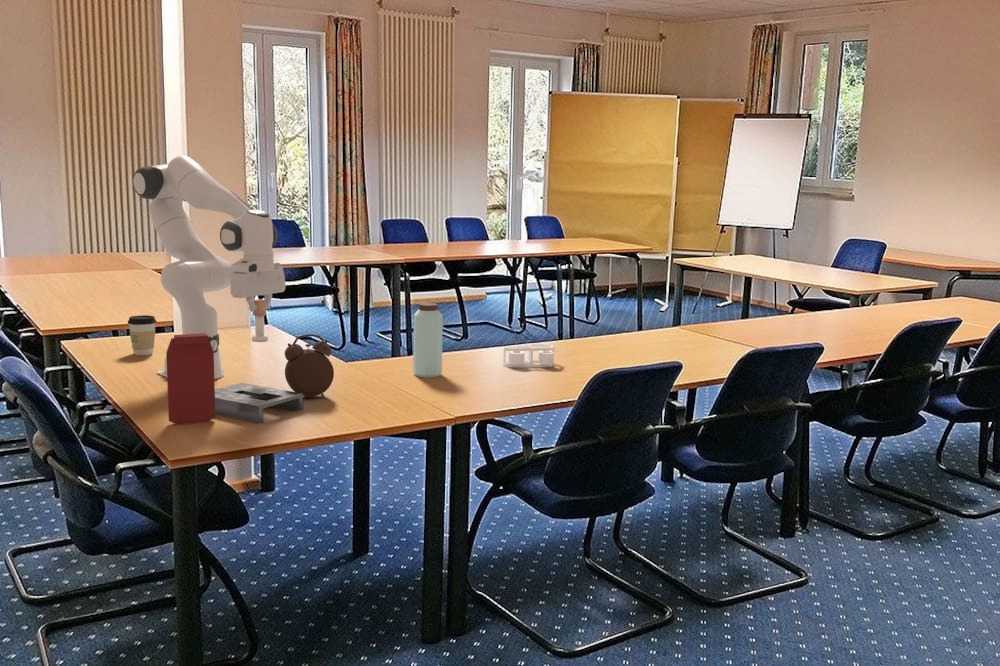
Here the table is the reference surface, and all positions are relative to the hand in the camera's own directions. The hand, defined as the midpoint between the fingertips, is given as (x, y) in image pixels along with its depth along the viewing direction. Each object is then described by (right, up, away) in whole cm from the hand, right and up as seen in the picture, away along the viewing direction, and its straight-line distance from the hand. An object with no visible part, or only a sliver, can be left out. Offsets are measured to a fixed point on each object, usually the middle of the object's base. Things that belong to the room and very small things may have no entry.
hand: (259, 309), depth 283 cm
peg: (0, -10, +2) cm, 10 cm away
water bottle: (+48, -22, +39) cm, 66 cm away
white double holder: (+84, -20, +60) cm, 105 cm away
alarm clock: (+14, -27, +3) cm, 31 cm away
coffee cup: (-57, -16, +55) cm, 81 cm away
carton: (-10, -33, -29) cm, 45 cm away
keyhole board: (+1, -30, -13) cm, 32 cm away
